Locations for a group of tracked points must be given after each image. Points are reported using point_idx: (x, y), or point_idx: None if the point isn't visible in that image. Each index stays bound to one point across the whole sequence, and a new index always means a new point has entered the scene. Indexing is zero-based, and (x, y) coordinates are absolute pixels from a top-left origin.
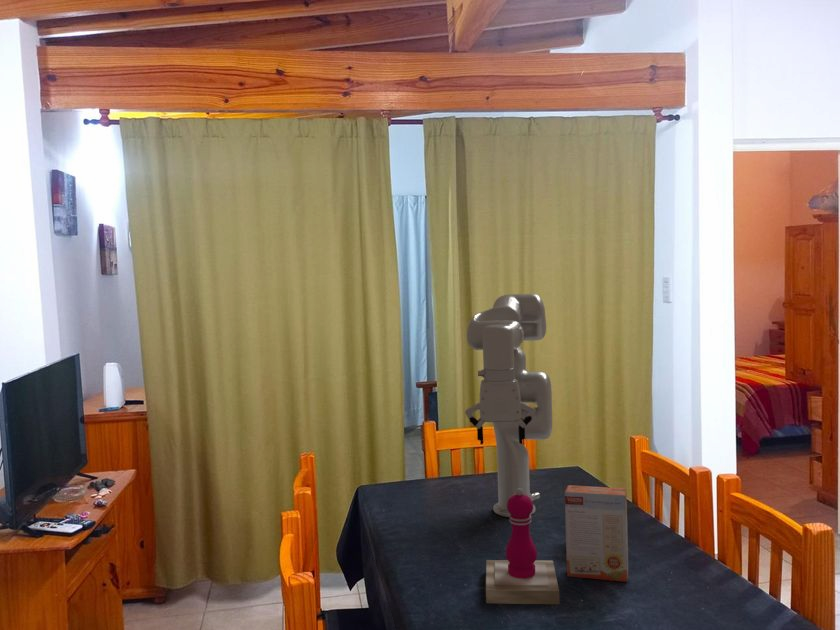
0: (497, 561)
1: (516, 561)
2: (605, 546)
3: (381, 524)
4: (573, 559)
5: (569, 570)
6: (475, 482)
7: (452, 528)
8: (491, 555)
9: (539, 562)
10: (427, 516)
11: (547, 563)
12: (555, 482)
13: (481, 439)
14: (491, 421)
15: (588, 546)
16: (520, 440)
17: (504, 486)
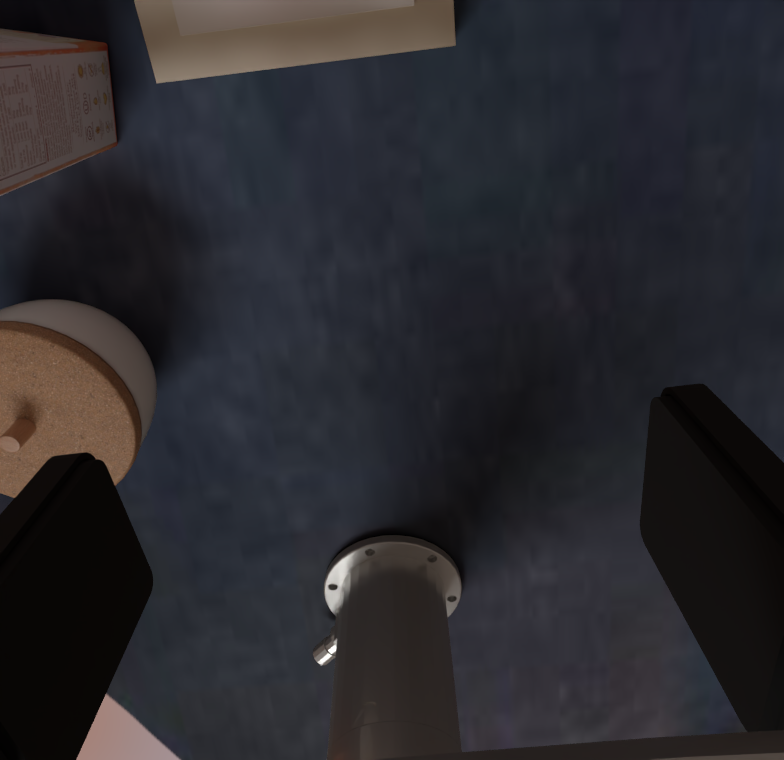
0: (403, 35)
1: None
2: None
3: None
4: (41, 39)
5: (86, 41)
6: (525, 741)
7: (597, 438)
8: (442, 222)
9: (205, 29)
10: None
11: (174, 44)
12: (294, 755)
13: (720, 420)
14: (697, 748)
15: None
16: (57, 475)
17: (424, 635)
